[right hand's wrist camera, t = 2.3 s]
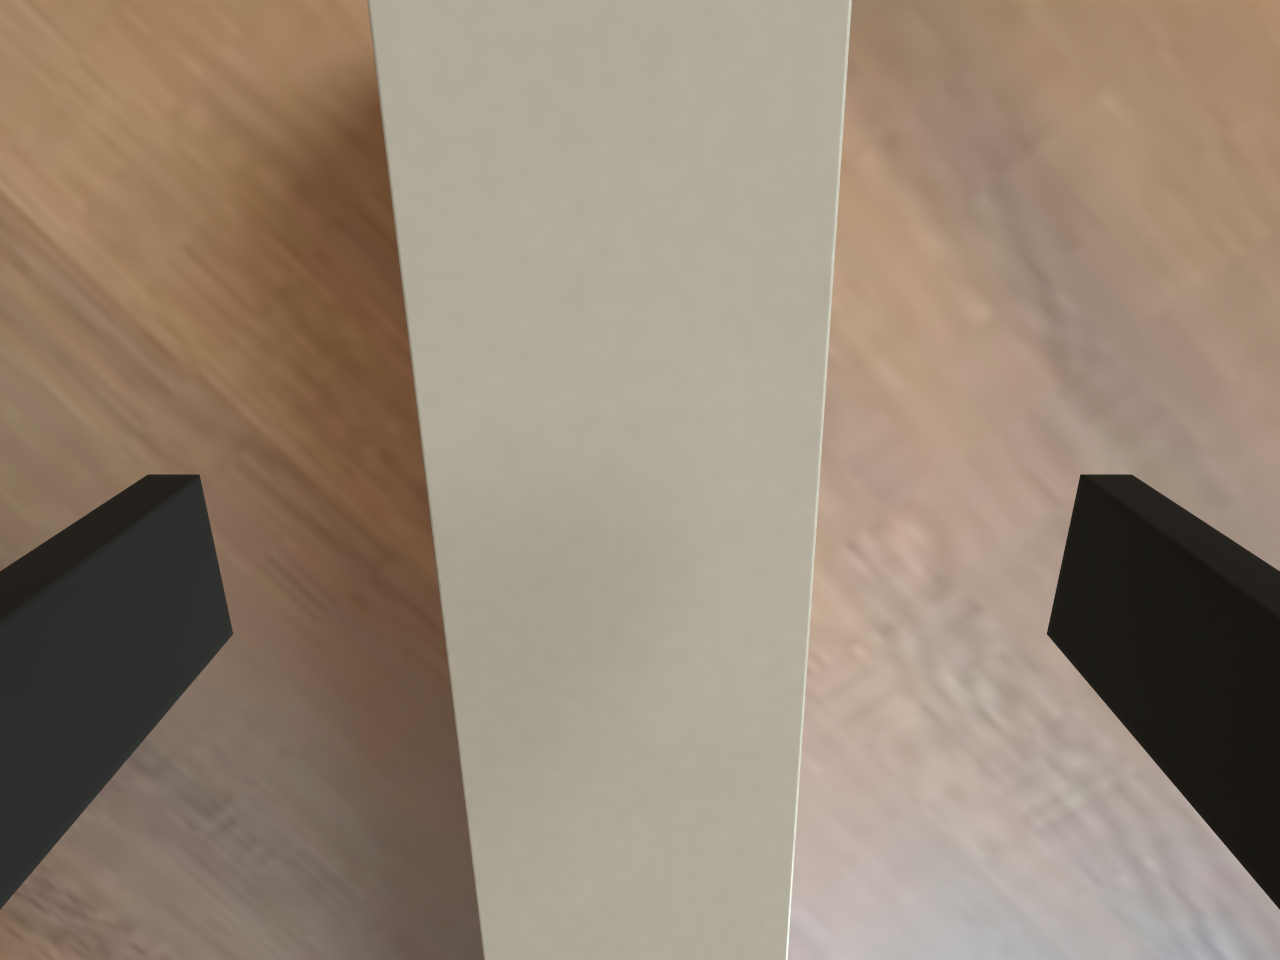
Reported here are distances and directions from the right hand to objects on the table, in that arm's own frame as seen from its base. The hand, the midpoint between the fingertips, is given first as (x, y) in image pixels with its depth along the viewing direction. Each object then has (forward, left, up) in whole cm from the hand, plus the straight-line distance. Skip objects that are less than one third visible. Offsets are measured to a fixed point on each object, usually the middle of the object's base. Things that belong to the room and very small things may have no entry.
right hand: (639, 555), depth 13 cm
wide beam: (+23, -18, -15) cm, 33 cm away
